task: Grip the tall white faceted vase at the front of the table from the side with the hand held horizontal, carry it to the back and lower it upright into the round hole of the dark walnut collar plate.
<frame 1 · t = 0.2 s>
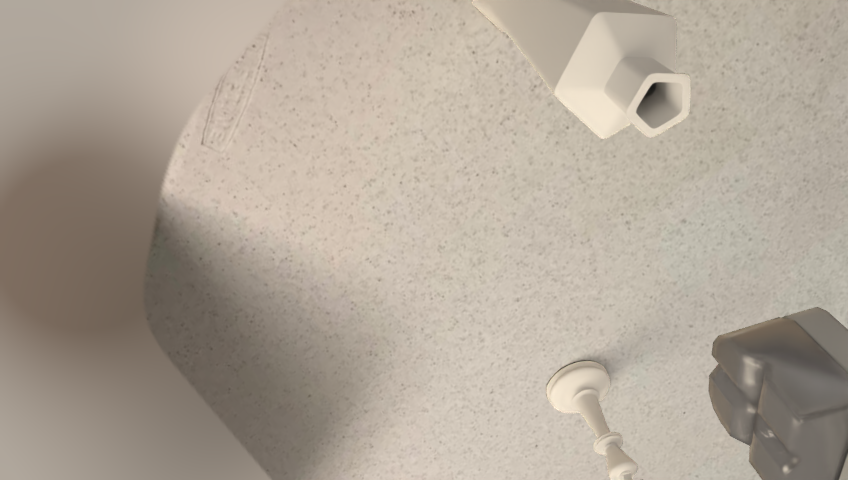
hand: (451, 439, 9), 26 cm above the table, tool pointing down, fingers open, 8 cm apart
chess piece: (575, 382, 50), on the table
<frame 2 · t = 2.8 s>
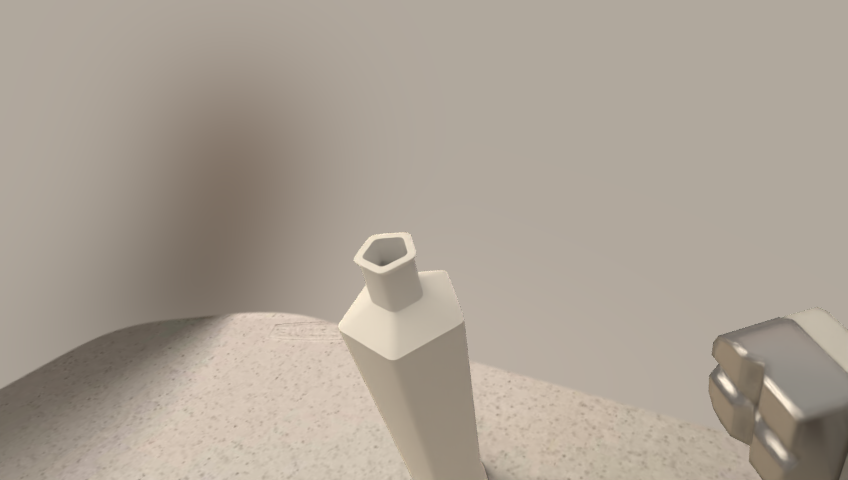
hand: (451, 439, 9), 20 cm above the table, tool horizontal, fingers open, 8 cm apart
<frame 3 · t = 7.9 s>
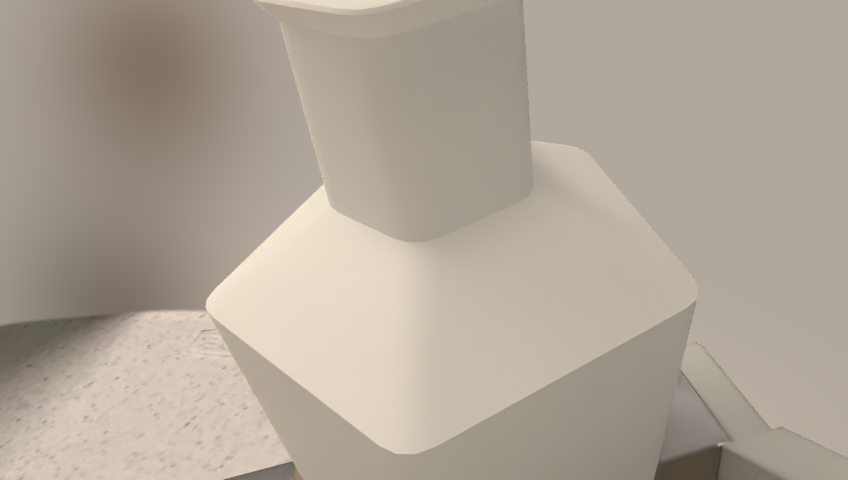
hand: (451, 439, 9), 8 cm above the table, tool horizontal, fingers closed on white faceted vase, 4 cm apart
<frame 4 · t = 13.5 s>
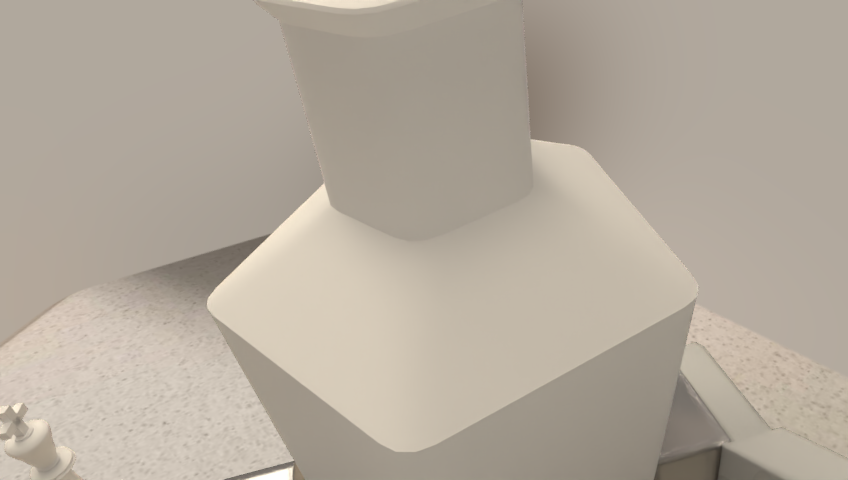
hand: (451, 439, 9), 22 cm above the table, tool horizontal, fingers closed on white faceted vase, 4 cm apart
when the fingers open (8 cm above the table, at t = 19.2 s): white faceted vase stays where it is, on the table.
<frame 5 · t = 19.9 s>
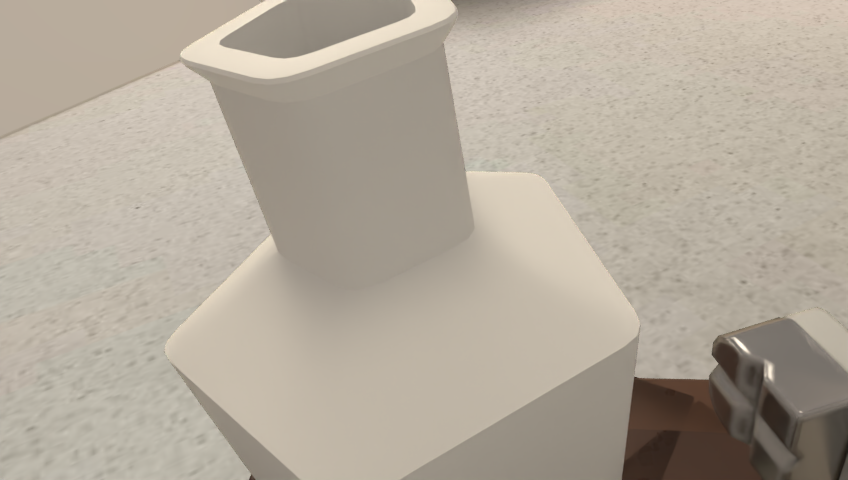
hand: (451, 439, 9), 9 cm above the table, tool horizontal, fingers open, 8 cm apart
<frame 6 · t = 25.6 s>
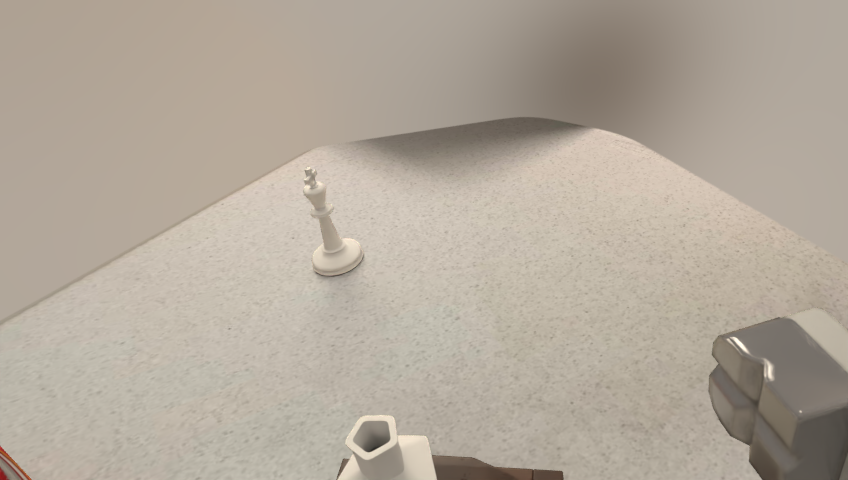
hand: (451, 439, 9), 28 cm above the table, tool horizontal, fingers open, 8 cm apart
chess piece: (338, 260, 62), on the table
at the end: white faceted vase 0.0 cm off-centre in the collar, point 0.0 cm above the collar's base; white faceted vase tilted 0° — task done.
